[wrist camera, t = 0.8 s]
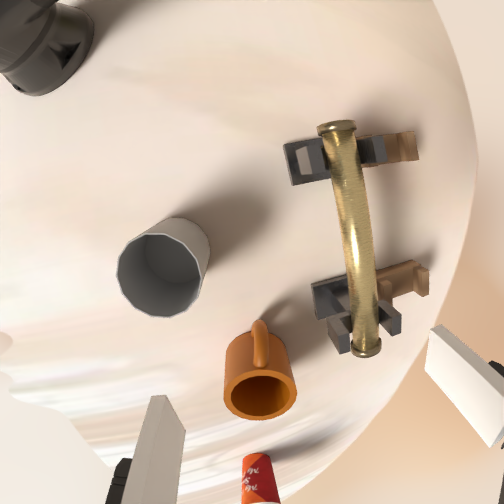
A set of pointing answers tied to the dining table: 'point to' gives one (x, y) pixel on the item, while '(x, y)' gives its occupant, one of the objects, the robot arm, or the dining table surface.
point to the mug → (258, 375)
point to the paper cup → (258, 480)
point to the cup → (164, 268)
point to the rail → (354, 233)
